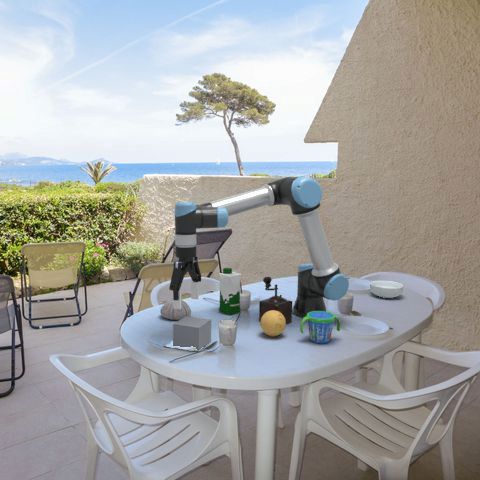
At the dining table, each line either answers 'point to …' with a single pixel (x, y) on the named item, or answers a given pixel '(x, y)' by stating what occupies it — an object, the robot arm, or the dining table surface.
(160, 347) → the dining table surface
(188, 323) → the grey cube
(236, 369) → the dining table surface
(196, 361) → the dining table surface
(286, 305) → the coffee grinder
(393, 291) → the cereal bowl
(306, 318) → the snack cup
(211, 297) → the dining table surface
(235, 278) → the milk carton
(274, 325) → the stress ball
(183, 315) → the sea urchin shell
